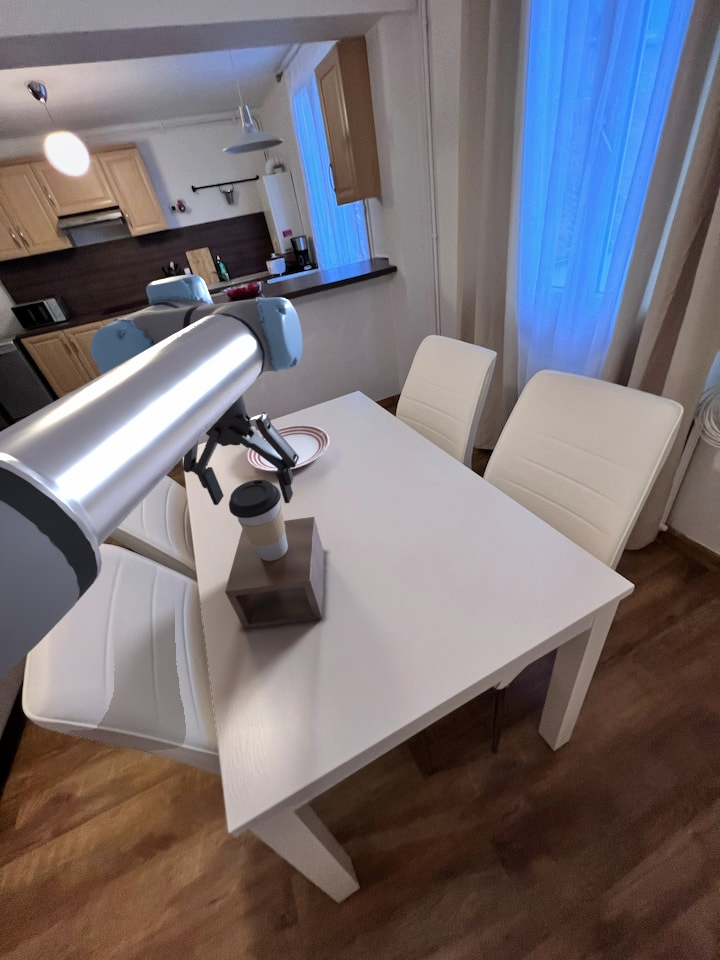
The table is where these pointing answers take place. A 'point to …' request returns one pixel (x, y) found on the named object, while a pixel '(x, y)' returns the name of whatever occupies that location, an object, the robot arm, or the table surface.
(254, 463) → the dinner plate
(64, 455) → the robot arm
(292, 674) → the table surface
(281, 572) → the wooden cubby box
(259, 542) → the coffee cup
